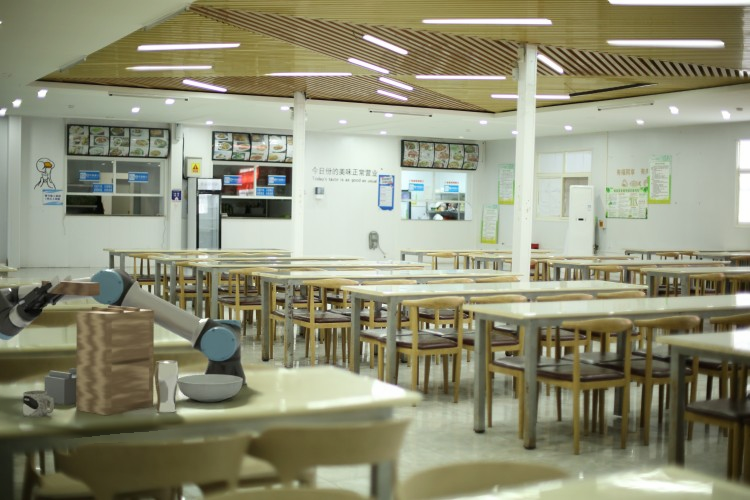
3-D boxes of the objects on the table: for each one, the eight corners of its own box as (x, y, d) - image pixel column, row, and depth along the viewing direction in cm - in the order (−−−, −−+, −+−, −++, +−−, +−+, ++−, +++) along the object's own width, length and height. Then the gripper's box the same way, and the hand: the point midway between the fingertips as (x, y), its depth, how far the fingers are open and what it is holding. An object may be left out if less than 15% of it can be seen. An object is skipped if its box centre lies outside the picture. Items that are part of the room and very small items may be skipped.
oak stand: (76, 409, 271) (76, 308, 271) (123, 401, 286) (123, 304, 285) (106, 415, 263) (106, 310, 263) (153, 406, 278) (153, 306, 278)
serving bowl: (243, 404, 282) (243, 383, 282) (175, 406, 279) (175, 384, 278) (242, 393, 303) (242, 373, 302) (179, 394, 299) (179, 374, 299)
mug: (18, 415, 262) (18, 393, 262) (34, 411, 268) (34, 389, 268) (45, 418, 258) (45, 395, 258) (61, 414, 264) (61, 392, 264)
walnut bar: (41, 292, 291) (41, 280, 291) (52, 292, 295) (52, 280, 295) (89, 296, 278) (89, 283, 278) (99, 295, 281) (99, 282, 281)
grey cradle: (44, 401, 285) (44, 371, 285) (76, 395, 295) (76, 367, 295) (64, 404, 279) (64, 374, 279) (95, 399, 289) (95, 370, 289)
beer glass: (156, 414, 266) (156, 363, 265) (152, 409, 272) (152, 360, 272) (180, 412, 268) (180, 362, 268) (175, 408, 275) (175, 359, 275)
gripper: (51, 320, 305) (90, 288, 294) (6, 323, 291) (45, 290, 280) (44, 300, 307) (82, 268, 296) (-1, 303, 293) (37, 269, 282)
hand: (64, 279), depth 288 cm, fingers closed on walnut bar, 4 cm apart
